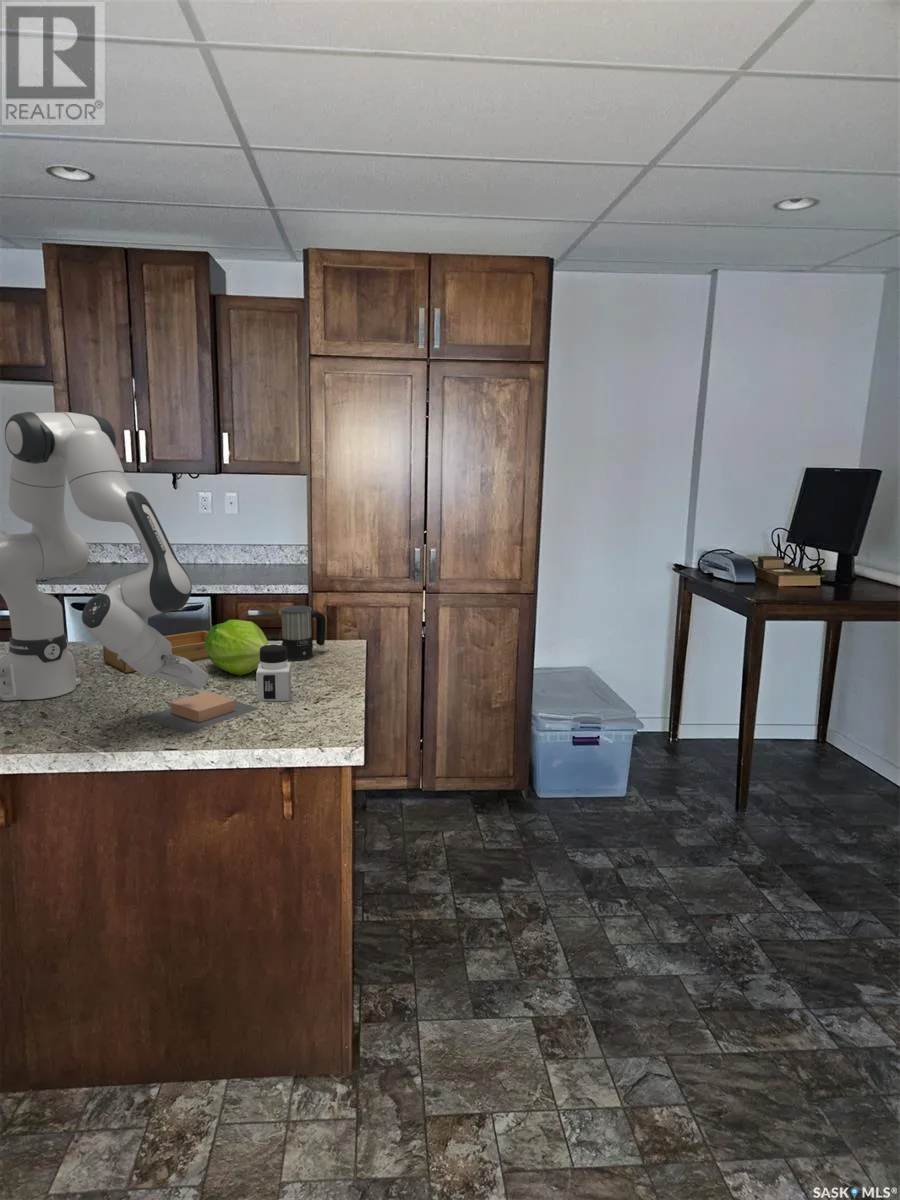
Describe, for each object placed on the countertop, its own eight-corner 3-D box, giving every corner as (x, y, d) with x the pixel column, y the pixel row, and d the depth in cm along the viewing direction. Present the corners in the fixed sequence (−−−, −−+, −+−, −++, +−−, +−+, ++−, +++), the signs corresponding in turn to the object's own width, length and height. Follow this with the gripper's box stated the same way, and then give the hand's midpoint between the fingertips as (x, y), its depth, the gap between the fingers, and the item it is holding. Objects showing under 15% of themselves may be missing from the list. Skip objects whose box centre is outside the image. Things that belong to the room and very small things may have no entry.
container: (289, 701, 177) (288, 649, 175) (256, 702, 176) (255, 649, 174) (291, 691, 185) (290, 641, 182) (259, 692, 184) (258, 642, 181)
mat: (141, 719, 163) (141, 717, 163) (215, 696, 179) (215, 695, 179) (187, 735, 154) (186, 733, 154) (260, 710, 170) (260, 708, 170)
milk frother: (296, 663, 211) (296, 612, 208) (258, 654, 219) (257, 605, 216) (330, 653, 223) (330, 605, 220) (293, 645, 231) (292, 599, 228)
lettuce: (291, 668, 202) (246, 688, 189) (236, 654, 214) (191, 673, 202) (284, 618, 197) (238, 636, 185) (229, 607, 210) (183, 623, 198)
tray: (205, 646, 228) (204, 628, 227) (230, 656, 218) (229, 637, 217) (103, 664, 206) (102, 644, 205) (126, 675, 196) (124, 655, 195)
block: (170, 702, 165) (207, 691, 173) (170, 713, 165) (207, 702, 174) (198, 711, 159) (235, 699, 168) (199, 723, 160) (235, 710, 168)
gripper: (189, 648, 149) (229, 683, 159) (130, 633, 160) (170, 666, 170) (171, 674, 146) (213, 708, 156) (112, 657, 157) (154, 689, 167)
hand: (190, 686), depth 163 cm, fingers closed
